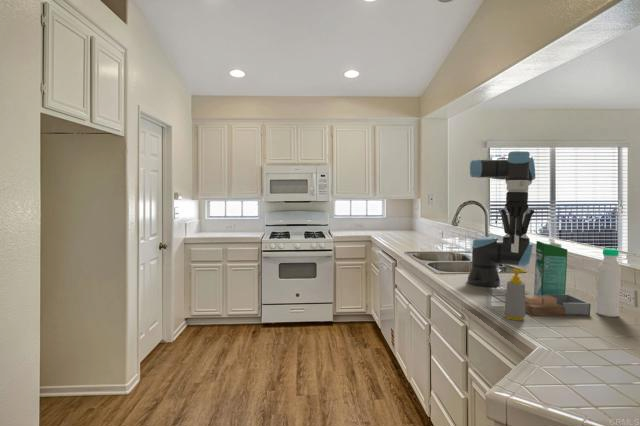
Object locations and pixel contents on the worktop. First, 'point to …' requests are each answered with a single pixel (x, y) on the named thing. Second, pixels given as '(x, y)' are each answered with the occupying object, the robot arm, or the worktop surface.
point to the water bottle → (609, 284)
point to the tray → (572, 304)
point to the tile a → (533, 299)
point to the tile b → (548, 299)
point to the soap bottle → (515, 298)
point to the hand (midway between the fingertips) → (514, 252)
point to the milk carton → (550, 269)
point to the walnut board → (545, 309)
